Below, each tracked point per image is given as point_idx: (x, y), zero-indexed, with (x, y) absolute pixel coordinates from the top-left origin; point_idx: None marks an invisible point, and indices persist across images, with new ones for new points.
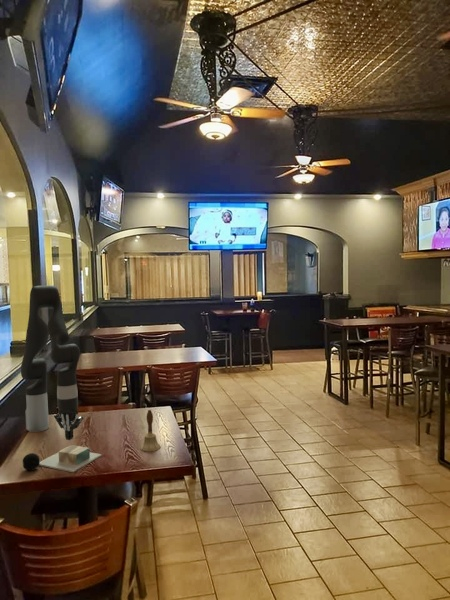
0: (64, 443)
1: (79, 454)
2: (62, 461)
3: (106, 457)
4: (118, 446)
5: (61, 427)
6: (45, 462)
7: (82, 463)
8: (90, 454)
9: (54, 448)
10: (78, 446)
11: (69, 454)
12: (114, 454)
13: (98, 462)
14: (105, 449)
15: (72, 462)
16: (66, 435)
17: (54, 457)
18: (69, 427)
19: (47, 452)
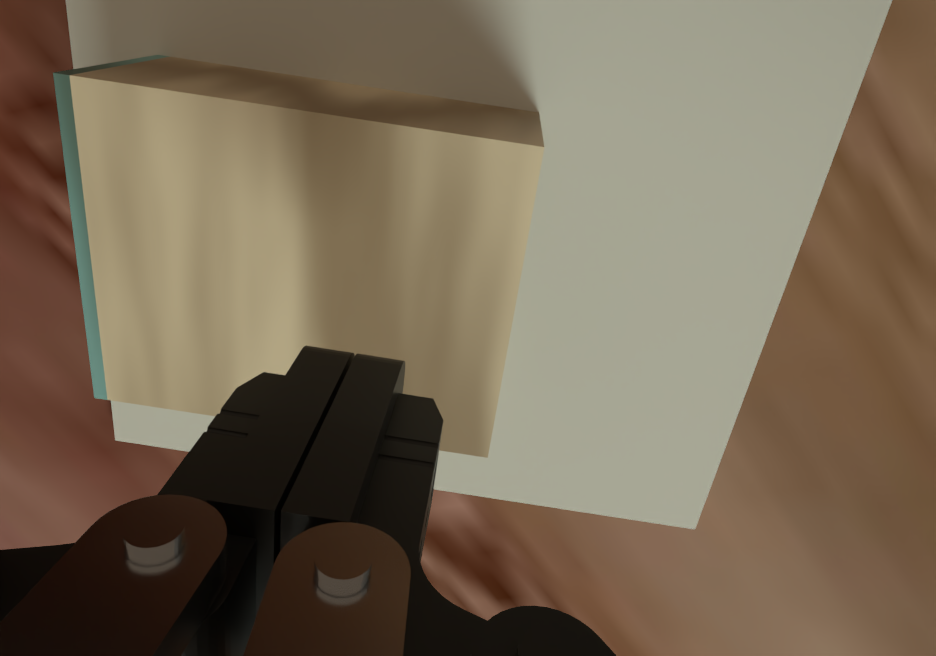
0: (816, 653)
1: (78, 146)
2: (466, 104)
3: (32, 399)
4: None
5: (533, 633)
6: (760, 21)
7: None
8: None
9: (882, 525)
10: None
11: (256, 97)
12: (14, 484)
13: (3, 250)
14: None
15: (245, 71)
16: (357, 416)
17: (705, 238)
18: (26, 613)
19: (929, 407)
